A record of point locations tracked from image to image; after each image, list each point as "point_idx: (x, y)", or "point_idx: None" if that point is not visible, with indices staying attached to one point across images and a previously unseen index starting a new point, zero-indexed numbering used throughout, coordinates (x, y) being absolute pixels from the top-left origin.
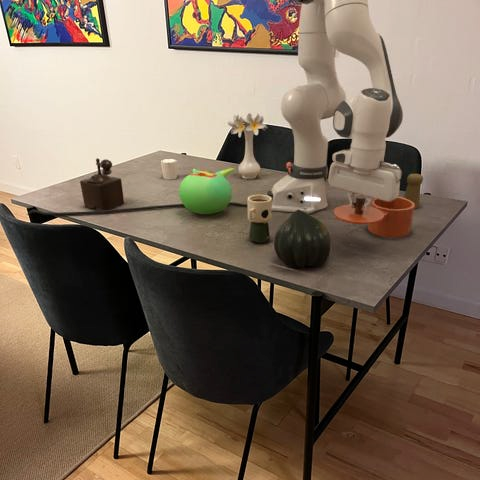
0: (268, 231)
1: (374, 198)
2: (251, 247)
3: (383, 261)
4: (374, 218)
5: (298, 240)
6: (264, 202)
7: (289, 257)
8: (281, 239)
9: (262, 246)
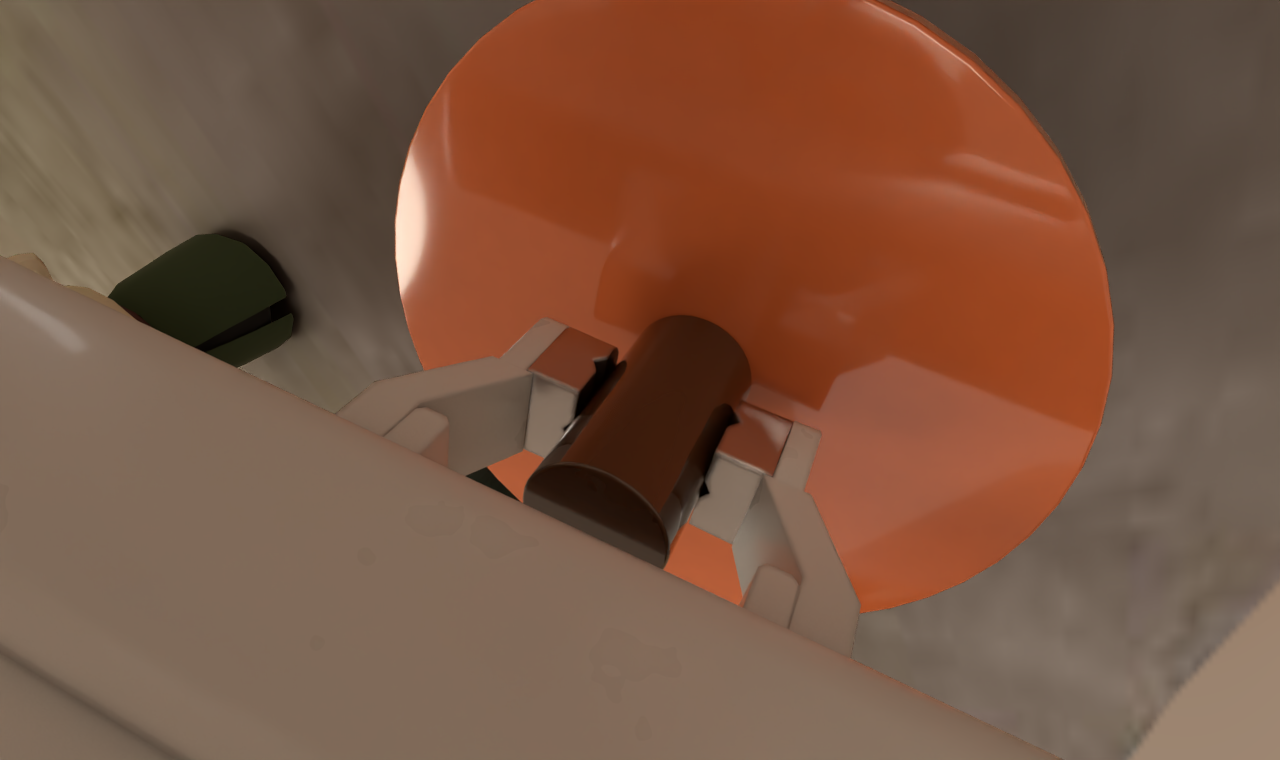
0: (236, 317)
1: (848, 631)
2: (293, 381)
3: (1131, 373)
4: (948, 501)
5: None
6: None
7: None
8: None
9: (317, 356)
